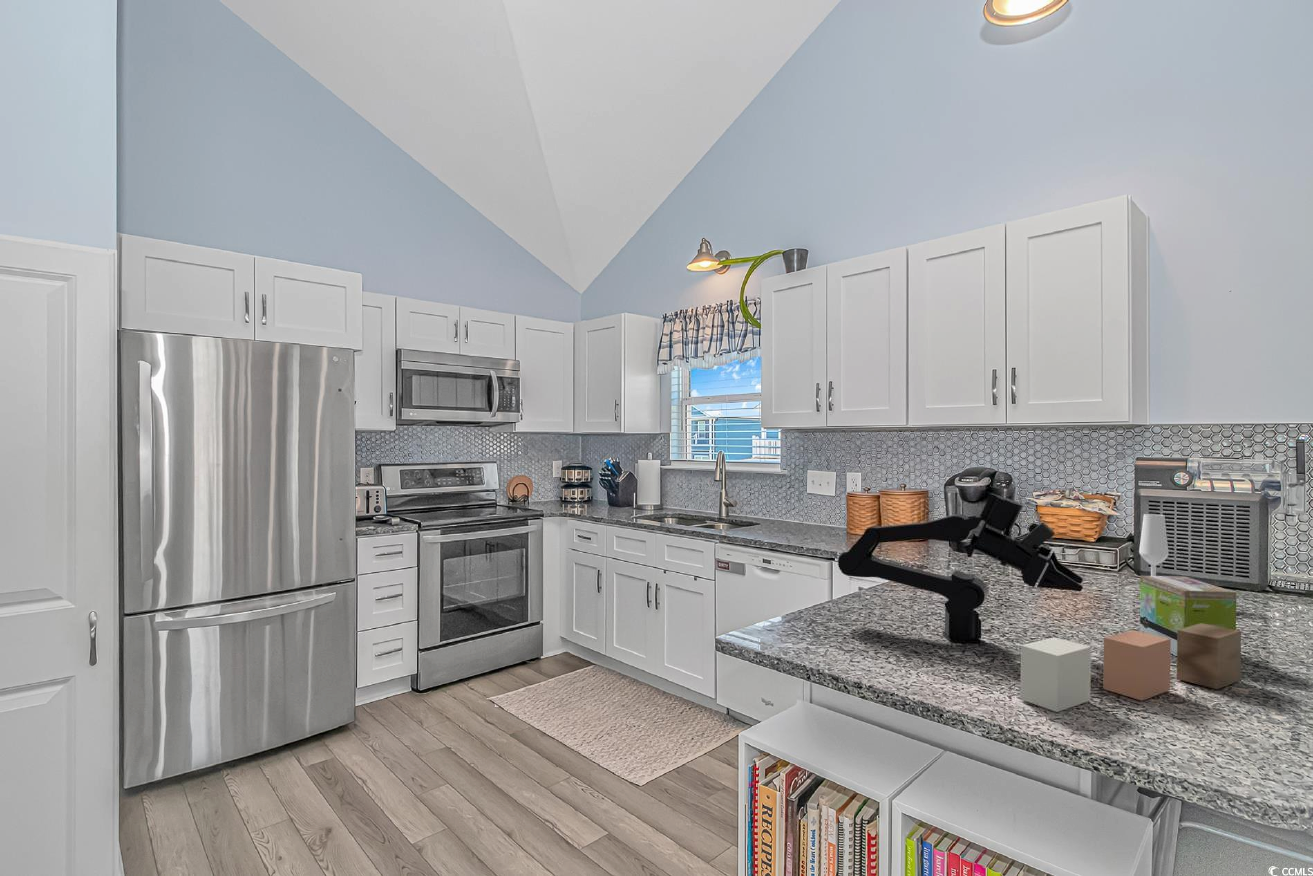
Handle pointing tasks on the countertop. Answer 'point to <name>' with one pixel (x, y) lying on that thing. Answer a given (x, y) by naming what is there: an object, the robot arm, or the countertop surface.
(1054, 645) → the cream block
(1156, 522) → the champagne flute
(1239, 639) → the walnut block
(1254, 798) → the countertop surface
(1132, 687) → the terracotta block
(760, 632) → the countertop surface
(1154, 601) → the tea box
